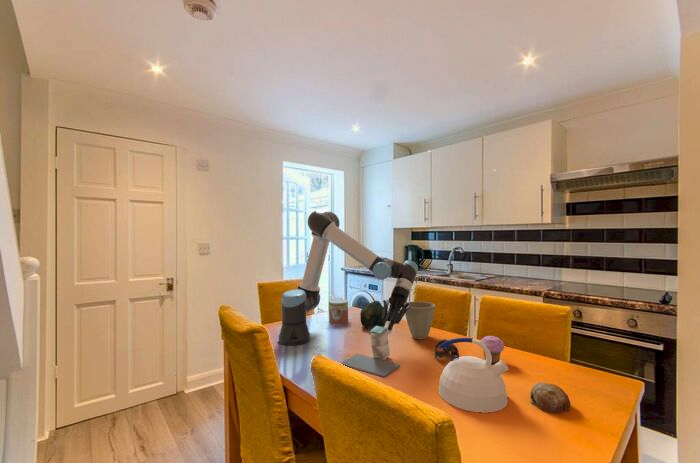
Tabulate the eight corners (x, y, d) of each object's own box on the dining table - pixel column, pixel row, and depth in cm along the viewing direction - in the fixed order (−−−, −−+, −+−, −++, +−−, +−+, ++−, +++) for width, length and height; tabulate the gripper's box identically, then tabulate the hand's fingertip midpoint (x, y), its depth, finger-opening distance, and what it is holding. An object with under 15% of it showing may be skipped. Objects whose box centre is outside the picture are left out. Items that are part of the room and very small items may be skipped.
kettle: (504, 421, 87) (503, 355, 87) (429, 401, 98) (428, 342, 98) (512, 390, 104) (511, 334, 104) (447, 375, 115) (447, 325, 115)
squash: (350, 316, 177) (364, 298, 170) (368, 312, 188) (381, 295, 181) (365, 337, 169) (380, 319, 163) (382, 332, 180) (397, 315, 174)
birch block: (373, 358, 131) (369, 331, 130) (379, 352, 135) (376, 325, 134) (383, 361, 129) (380, 333, 127) (389, 354, 132) (386, 327, 131)
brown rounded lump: (529, 408, 100) (518, 385, 99) (556, 392, 100) (546, 369, 100) (551, 427, 90) (539, 402, 89) (582, 409, 90) (570, 385, 90)
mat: (340, 364, 126) (340, 363, 126) (357, 354, 136) (357, 353, 136) (384, 377, 114) (384, 376, 114) (400, 365, 124) (400, 364, 124)
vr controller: (464, 363, 126) (456, 347, 124) (442, 373, 127) (433, 357, 126) (456, 345, 138) (448, 330, 136) (436, 354, 139) (427, 339, 137)
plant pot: (441, 337, 155) (441, 305, 155) (420, 344, 147) (419, 309, 147) (419, 330, 168) (418, 299, 168) (398, 335, 159) (397, 303, 159)
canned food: (326, 324, 182) (326, 303, 182) (331, 318, 193) (331, 298, 193) (346, 324, 180) (346, 303, 180) (349, 319, 191) (349, 299, 191)
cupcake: (480, 364, 124) (480, 338, 124) (479, 356, 132) (479, 331, 132) (505, 367, 121) (505, 340, 121) (503, 358, 129) (503, 334, 129)
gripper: (386, 284, 149) (367, 329, 135) (412, 286, 141) (394, 334, 128) (391, 293, 153) (374, 338, 140) (417, 296, 145) (401, 344, 132)
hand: (384, 336), depth 134 cm, fingers closed
